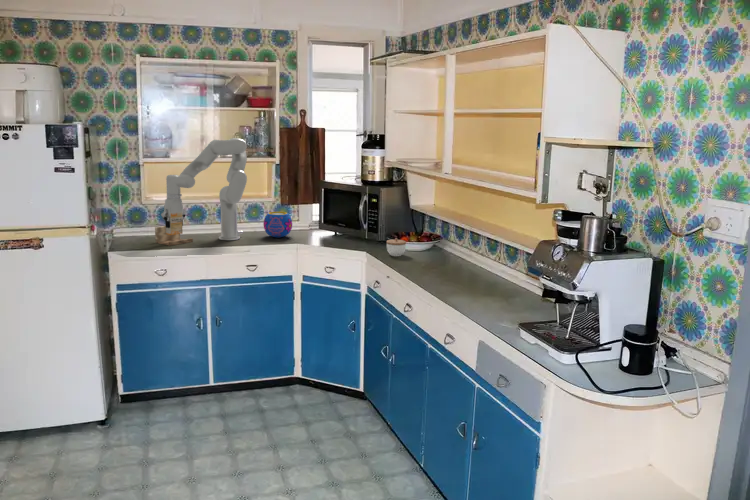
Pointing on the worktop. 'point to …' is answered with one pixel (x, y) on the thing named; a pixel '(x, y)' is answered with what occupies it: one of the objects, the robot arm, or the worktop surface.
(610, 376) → the worktop surface
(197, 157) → the robot arm
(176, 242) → the patterned wooden bookend
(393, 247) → the lidded jar
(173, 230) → the supplement box
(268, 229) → the ceramic pot
